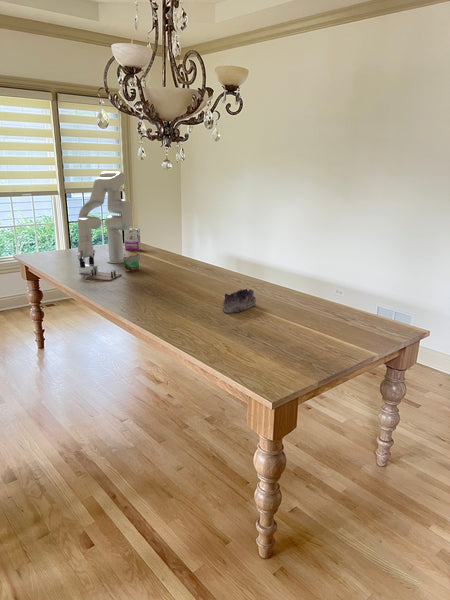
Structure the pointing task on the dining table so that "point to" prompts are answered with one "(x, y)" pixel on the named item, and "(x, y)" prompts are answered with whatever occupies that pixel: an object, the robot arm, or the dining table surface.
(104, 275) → the tray
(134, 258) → the food container
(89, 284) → the dining table surface
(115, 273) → the tray pins
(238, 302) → the geode
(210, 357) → the dining table surface
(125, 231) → the candy bar box
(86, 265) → the light grey block
